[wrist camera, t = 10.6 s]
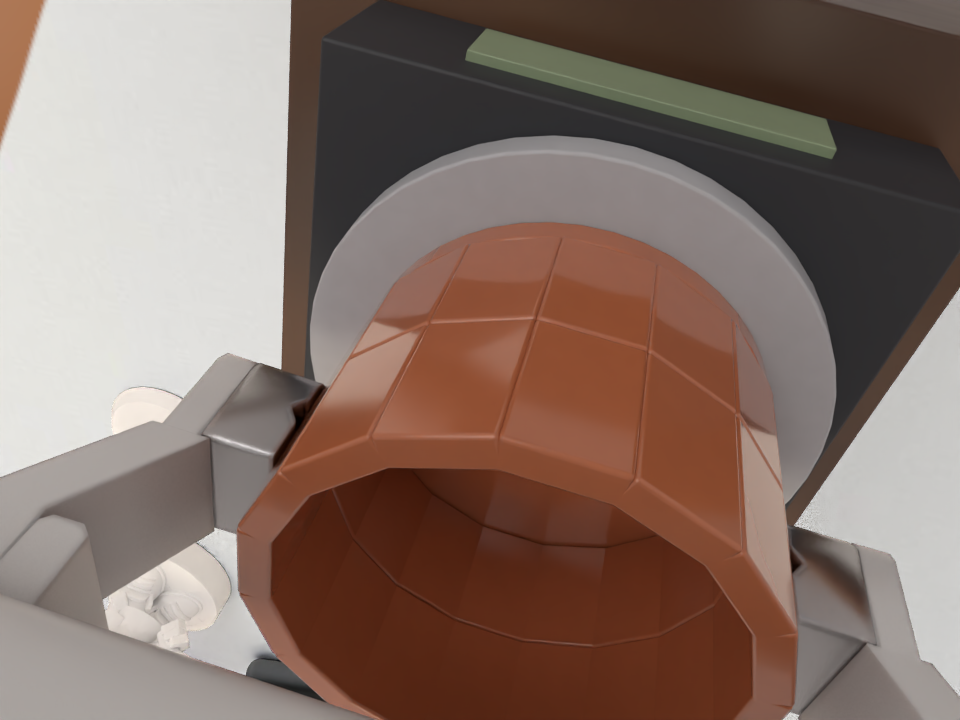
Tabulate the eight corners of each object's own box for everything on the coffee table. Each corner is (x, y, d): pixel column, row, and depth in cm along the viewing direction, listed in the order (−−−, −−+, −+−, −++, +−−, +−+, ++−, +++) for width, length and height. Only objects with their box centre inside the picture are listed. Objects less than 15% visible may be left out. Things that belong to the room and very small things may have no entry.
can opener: (496, 686, 53) (479, 758, 49) (500, 734, 57) (485, 804, 53) (247, 641, 58) (213, 703, 54) (266, 688, 61) (236, 750, 57)
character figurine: (254, 603, 54) (159, 773, 45) (159, 613, 58) (55, 771, 49) (179, 517, 50) (59, 685, 41) (83, 535, 54) (-46, 691, 45)
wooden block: (509, -177, 24) (293, -134, 11) (892, -83, 23) (1110, 75, 11) (448, 174, 31) (278, 431, 19) (736, 255, 31) (756, 580, 18)
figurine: (157, 484, 49) (26, 650, 39) (88, 397, 45) (-73, 557, 36) (245, 471, 46) (127, 647, 36) (179, 377, 42) (30, 546, 33)
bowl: (386, 166, 11) (229, 354, 7) (851, 297, 10) (926, 566, 7) (350, 477, 15) (239, 695, 11) (681, 581, 14) (673, 841, 11)
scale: (379, -12, 12) (301, 36, 10) (946, 138, 12) (1007, 228, 9) (340, 405, 18) (285, 498, 16) (718, 521, 17) (720, 637, 15)
